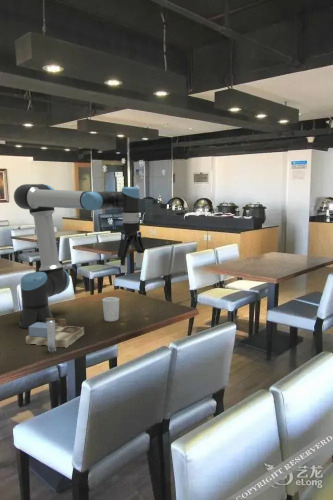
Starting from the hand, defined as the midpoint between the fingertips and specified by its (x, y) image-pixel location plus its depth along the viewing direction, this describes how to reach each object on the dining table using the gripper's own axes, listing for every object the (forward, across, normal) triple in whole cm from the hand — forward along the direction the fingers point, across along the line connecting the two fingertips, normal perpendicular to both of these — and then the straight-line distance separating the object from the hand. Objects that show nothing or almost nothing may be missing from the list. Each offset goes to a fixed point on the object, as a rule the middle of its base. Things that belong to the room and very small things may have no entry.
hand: (131, 269), depth 183 cm
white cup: (+26, +4, +14) cm, 30 cm away
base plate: (+26, -28, +21) cm, 43 cm away
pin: (+26, -38, +14) cm, 48 cm away
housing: (+23, -32, +24) cm, 46 cm away
